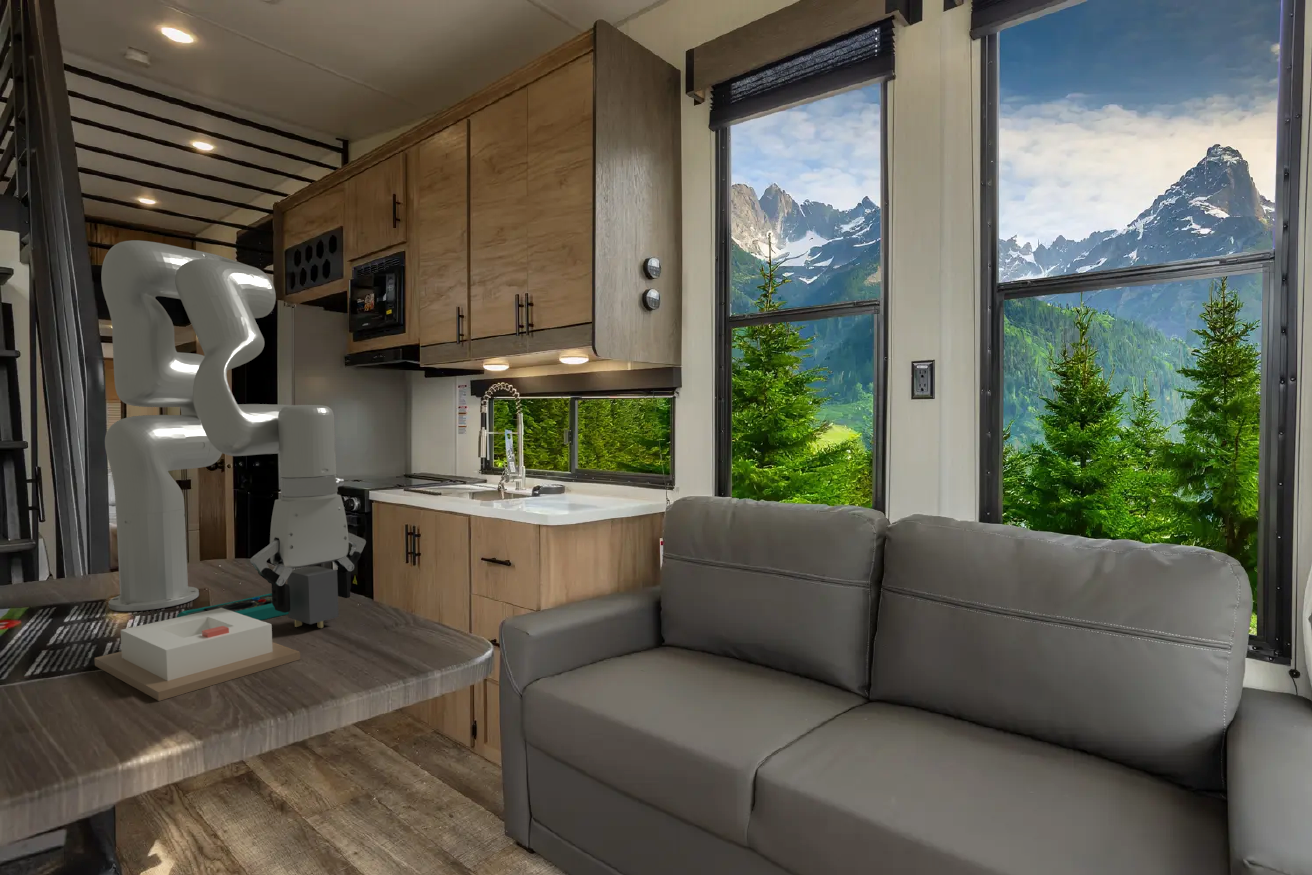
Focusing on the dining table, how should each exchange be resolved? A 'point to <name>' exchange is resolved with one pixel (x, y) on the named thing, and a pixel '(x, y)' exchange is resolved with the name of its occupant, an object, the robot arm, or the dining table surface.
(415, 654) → the dining table surface
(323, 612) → the plug
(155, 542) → the robot arm
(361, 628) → the dining table surface
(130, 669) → the socket
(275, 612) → the digital multimeter
